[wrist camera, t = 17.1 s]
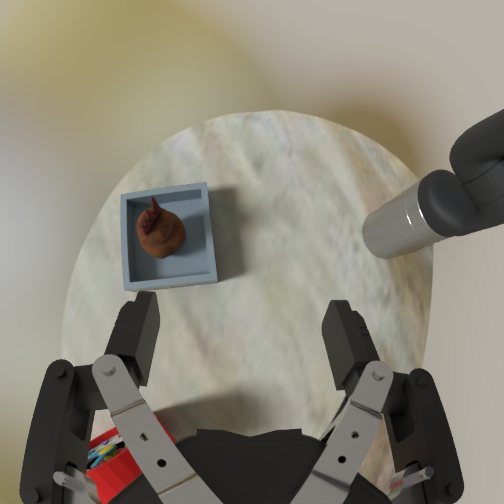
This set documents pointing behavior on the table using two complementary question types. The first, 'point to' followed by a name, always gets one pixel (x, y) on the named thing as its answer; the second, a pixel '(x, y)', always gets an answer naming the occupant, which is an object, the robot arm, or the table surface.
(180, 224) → the wooden figurine
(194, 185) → the box
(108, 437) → the toy clock
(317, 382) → the table surface
